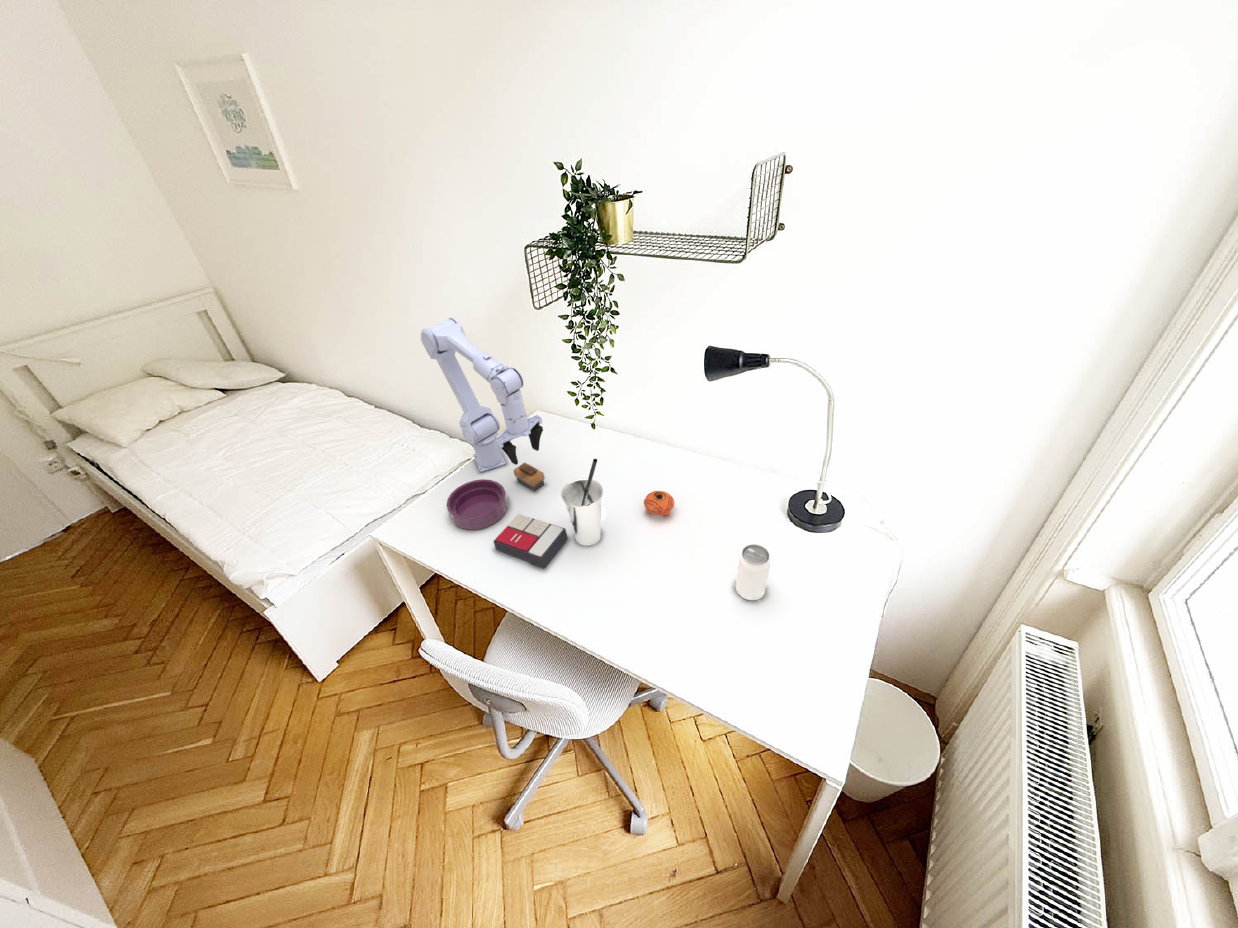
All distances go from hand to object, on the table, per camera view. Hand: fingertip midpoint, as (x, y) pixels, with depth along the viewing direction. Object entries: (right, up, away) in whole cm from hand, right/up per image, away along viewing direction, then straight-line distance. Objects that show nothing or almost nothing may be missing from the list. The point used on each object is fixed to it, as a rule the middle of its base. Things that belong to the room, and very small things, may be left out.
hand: (525, 456), depth 145 cm
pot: (+36, -15, -4) cm, 40 cm away
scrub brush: (0, -8, +8) cm, 11 cm away
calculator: (+4, -23, -11) cm, 25 cm away
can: (+55, -31, -26) cm, 68 cm away
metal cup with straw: (+18, -21, -10) cm, 30 cm away
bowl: (-13, -15, 0) cm, 20 cm away
